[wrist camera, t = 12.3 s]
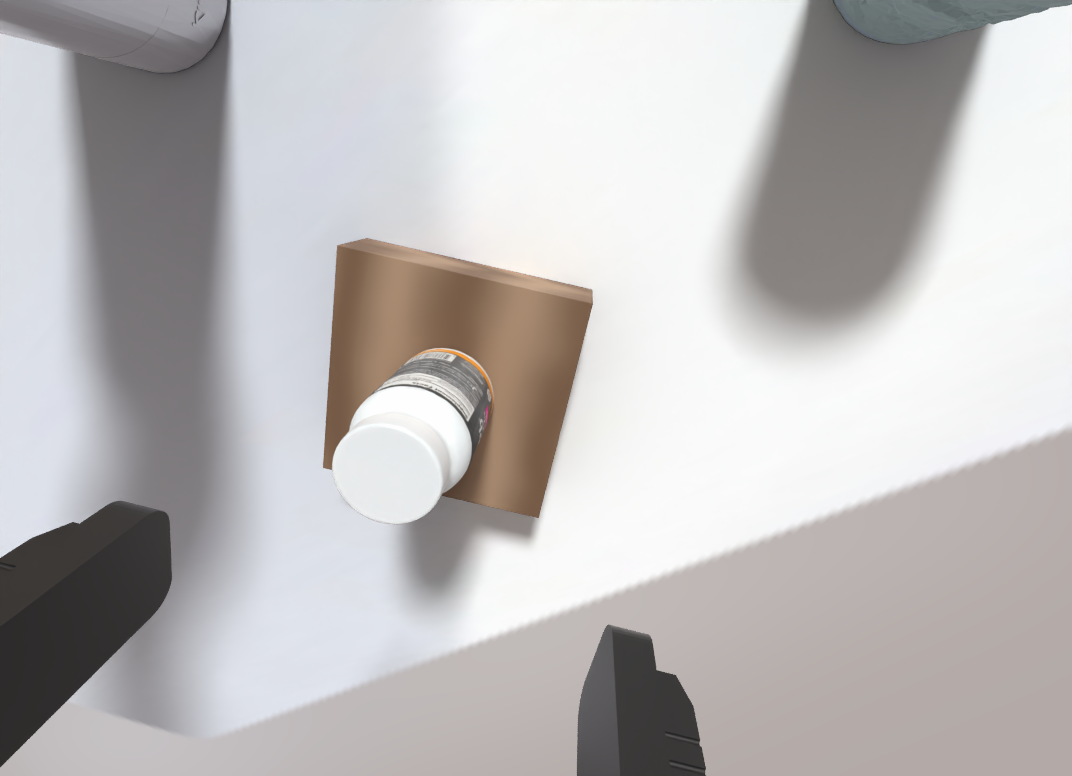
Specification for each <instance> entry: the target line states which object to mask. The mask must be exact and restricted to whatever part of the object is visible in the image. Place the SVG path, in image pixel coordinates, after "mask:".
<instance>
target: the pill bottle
mask: <svg viewBox="0 0 1072 776" xmlns="http://www.w3.org/2000/svg"><path fill="white" fill-rule="evenodd" d="M493 403H494V393H493V387H492V384H491V381H490V379H489V377H488V375H487V373H486V372H485V370H484V369H483V368H482V366H481V365H480V364H479V363H478V362H477V361H475V360H474V359H473V358H472V357H470V356H468V355H466V354H464V353H462V352H460V351H457V350H454V349H447V348H434V349H429V350H426V351H423V352H421V353H419V354H417V355H415V356H414V357H412V358H411V359H410V360H408V361H407V362H406V363H405V364H403V365H402V366H401V367H400V368H399V370H397V371H396V372H395V373H394V374H393V375H392V376H391V377H390V378H389V379H388V380H386V381H385V382H384V383H383V384H382V385H381V386H380V387H379V388H377V389H376V390H375V391H374V392H373V393H372V394H371V395H370V396H369V397H368V398H367V399H366V400H365V401H364V402H363V403H362V404H361V406H360V407H359V408H358V409H357V411H356V412H355V414H354V416H353V418H352V421H351V424H350V429H349V432H348V433H347V434H346V435H345V436H344V437H343V439H342V440H341V441H340V443H339V444H338V446H337V448H336V450H335V453H334V456H333V462H332V472H333V478H334V482H335V484H336V487H337V489H338V491H339V493H340V494H341V496H342V497H343V499H344V500H345V501H346V502H347V503H348V504H349V505H350V506H351V507H352V508H353V509H354V510H356V511H357V512H358V513H360V514H362V515H363V516H365V517H367V518H369V519H372V520H374V521H377V522H381V523H387V524H404V523H409V522H412V521H415V520H417V519H420V518H421V517H423V516H425V515H426V514H427V513H429V512H430V511H431V510H432V509H433V508H434V506H435V505H436V504H437V502H438V501H439V499H440V497H441V495H442V493H444V492H446V491H448V490H449V489H451V488H452V487H453V486H454V485H455V484H456V483H457V482H458V481H459V480H460V479H461V478H462V477H463V475H464V474H465V473H466V471H467V470H468V468H469V465H470V463H471V460H472V457H473V455H474V452H475V450H476V448H477V446H478V443H479V441H480V439H481V437H482V434H483V432H484V430H485V428H486V425H487V422H488V420H489V418H490V415H491V412H492V409H493Z"/></svg>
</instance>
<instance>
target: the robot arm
mask: <svg viewBox="0 0 1072 776" xmlns="http://www.w3.org/2000/svg"><path fill="white" fill-rule="evenodd" d="M226 9H227V0H0V33H1V34H5V35H9V36H13V37H17V38H21V39H25V40H29V41H33V42H37V43H41V44H45V45H49V46H52V47H56V48H60V49H64V50H68V51H72V52H76V53H80V54H83V55H86V56H90V57H94V58H98V59H102V60H107V61H111V62H115V63H119V64H123V65H127V66H131V67H135V68H139V69H143V70H147V71H151V72H156V73H173V72H177V71H180V70H184V69H187V68H189V67H191V66H192V65H194V64H196V63H197V62H199V61H200V60H202V59H203V58H204V56H205V55H206V54H207V53H208V52H209V51H210V50H211V49H212V48H213V46H214V44H215V42H216V40H217V38H218V36H219V35H220V33H221V30H222V26H223V23H224V19H225V15H226ZM171 579H172V571H171V546H170V522H169V517H168V515H167V514H166V513H165V512H163V511H160V510H156V509H152V508H148V507H144V506H140V505H136V504H132V503H128V502H124V501H116V502H113V503H110V504H109V505H107V506H105V507H104V508H102V509H101V510H99V511H98V512H96V513H95V514H93V515H92V516H90V517H89V518H87V519H86V520H84V521H83V522H81V523H80V524H78V523H74V522H72V523H69V524H67V525H64V526H62V527H59V528H56V529H54V530H51V531H49V532H46V533H44V534H41V535H38V536H36V537H33V538H31V539H29V540H28V541H26V542H25V543H23V544H22V545H20V546H18V547H17V548H15V549H14V550H12V551H11V552H9V553H7V554H6V555H4V556H3V557H1V558H0V767H1V766H2V765H3V764H4V763H5V762H6V761H7V760H8V759H9V758H10V757H11V756H12V755H13V754H14V753H15V752H16V751H17V750H18V749H19V748H20V747H21V746H22V745H23V744H24V743H25V742H26V741H27V740H28V739H29V738H30V737H31V736H32V735H33V734H34V733H35V732H36V731H37V730H38V729H39V728H40V727H41V726H42V725H43V724H44V723H45V722H46V721H47V720H48V719H49V718H50V717H51V716H52V715H53V714H54V713H55V712H56V711H57V710H58V709H59V708H60V707H61V706H62V705H63V704H64V703H65V702H66V701H67V700H68V699H69V698H70V697H71V696H72V695H73V694H74V693H75V692H76V691H77V690H78V689H79V688H80V687H81V686H82V685H83V684H84V683H85V682H86V681H87V680H88V679H89V678H90V677H91V676H92V675H93V674H94V673H95V672H96V671H97V670H98V669H99V668H100V667H101V666H102V665H103V664H104V663H105V662H106V661H107V660H108V659H109V658H110V657H111V656H112V655H113V654H114V653H115V652H116V651H117V650H118V649H119V648H120V647H121V646H122V645H123V644H124V643H125V642H126V641H127V640H128V639H129V638H130V637H131V636H132V635H133V634H135V633H136V632H137V631H138V630H139V629H140V628H141V627H142V626H143V625H144V624H145V623H146V622H147V621H148V620H149V619H150V618H151V617H152V616H153V614H154V613H155V612H156V611H157V610H158V608H159V607H160V606H161V604H162V603H163V601H164V599H165V597H166V595H167V593H168V591H169V588H170V584H171ZM699 742H700V738H699V732H698V728H697V722H696V718H695V712H694V708H693V705H692V703H691V701H690V700H689V698H688V696H687V694H686V693H685V691H684V689H683V687H682V685H681V684H680V682H679V680H678V678H677V677H676V675H673V674H669V673H665V672H661V671H657V670H656V663H655V656H654V650H653V643H652V639H651V637H650V636H649V635H648V634H644V633H640V632H636V631H632V630H628V629H623V628H620V627H615V626H612V625H607V626H606V628H605V630H604V632H603V635H602V637H601V640H600V643H599V645H598V648H597V651H596V653H595V656H594V659H593V661H592V664H591V667H590V669H589V672H588V675H587V677H586V680H585V683H584V686H583V690H582V694H581V699H580V706H579V715H578V745H577V776H706V775H705V769H706V767H705V762H704V757H703V753H702V747H700V745H699Z"/></svg>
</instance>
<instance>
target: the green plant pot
mask: <svg viewBox="0 0 1072 776" xmlns="http://www.w3.org/2000/svg"><path fill="white" fill-rule="evenodd" d="M833 1H834V3H835V5H836V7H837V9H838V10H839V12H840V14H841V15H842V16H843V18H844V19H845V20H846V22H847V23H848V24H849V25H851V26H852V27H853V28H854V29H855V30H857V31H858V32H859V33H861V34H863V35H864V36H866V37H868V38H871V39H874V40H876V41H879V42H885V43H891V44H911V43H917V42H923V41H927V40H931V39H935V38H939V37H942V36H945V35H949V34H952V33H955V32H958V31H966V30H973V29H976V28H979V27H982V26H984V25H986V24H988V23H990V24H996V23H999V22H1002V21H1008V20H1013V19H1016V18H1019V17H1022V16H1025V15H1028V14H1031V13H1039V12H1042V11H1045V10H1047V9H1049V8H1052V7H1060V6H1067V5H1071V4H1072V0H833Z"/></svg>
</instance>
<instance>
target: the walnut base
mask: <svg viewBox="0 0 1072 776" xmlns="http://www.w3.org/2000/svg"><path fill="white" fill-rule="evenodd" d="M592 305H593V297H592V290H591V289H587V288H583V287H578V286H574V285H569V284H565V283H561V282H556V281H552V280H547V279H543V278H539V277H534V276H530V275H526V274H521V273H517V272H512V271H508V270H504V269H499V268H495V267H490V266H486V265H482V264H477V263H473V262H469V261H464V260H460V259H455V258H451V257H447V256H442V255H438V254H433V253H429V252H425V251H420V250H416V249H412V248H407V247H403V246H398V245H394V244H390V243H385V242H381V241H376V240H372V239H368V238H366V239H362V240H358V241H354V242H349V243H345V244H341V245H337V259H336V275H335V290H334V306H333V321H332V337H331V352H330V368H329V383H328V399H327V415H326V430H325V446H324V461H323V468H326V469H330V470H332V462H333V456H334V453H335V450H336V448H337V446H338V444H339V443H340V441H341V440H342V439H343V437H344V436H345V435H346V434H347V433H348V432H349V429H350V424H351V421H352V418H353V416H354V414H355V412H356V411H357V409H358V408H359V407H360V406H361V404H362V403H363V402H364V401H365V400H366V399H367V398H368V397H369V396H370V395H371V394H372V393H373V392H374V391H375V390H376V389H377V388H379V387H380V386H381V385H382V384H383V383H384V382H385V381H386V380H388V379H389V378H390V377H391V376H392V375H393V374H394V373H395V372H396V371H397V370H399V368H400V367H401V366H402V365H403V364H405V363H406V362H407V361H408V360H410V359H411V358H412V357H414V356H415V355H417V354H419V353H421V352H423V351H426V350H429V349H434V348H447V349H454V350H457V351H460V352H462V353H464V354H466V355H468V356H470V357H472V358H473V359H474V360H475V361H477V362H478V363H479V364H480V365H481V366H482V368H483V369H484V370H485V372H486V373H487V375H488V377H489V379H490V381H491V384H492V387H493V393H494V403H493V409H492V412H491V415H490V418H489V420H488V422H487V425H486V428H485V430H484V432H483V434H482V437H481V439H480V441H479V443H478V446H477V448H476V450H475V452H474V455H473V457H472V460H471V463H470V465H469V468H468V470H467V471H466V473H465V474H464V475H463V477H462V478H461V479H460V480H459V481H458V482H457V483H456V484H455V485H454V486H453V487H452V488H451V489H449V490H448V491H446V492H444V493H442V496H446V497H451V498H455V499H459V500H463V501H468V502H472V503H476V504H481V505H485V506H489V507H493V508H498V509H502V510H506V511H511V512H515V513H519V514H524V515H528V516H532V517H536V518H539V514H540V510H541V506H542V502H543V498H544V494H545V490H546V486H547V482H548V478H549V474H550V470H551V466H552V462H553V459H554V455H555V451H556V447H557V443H558V439H559V435H560V431H561V427H562V423H563V419H564V415H565V411H566V407H567V403H568V399H569V395H570V391H571V387H572V384H573V380H574V376H575V372H576V368H577V364H578V360H579V356H580V352H581V348H582V344H583V340H584V336H585V332H586V328H587V324H588V320H589V316H590V312H591V309H592Z"/></svg>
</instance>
